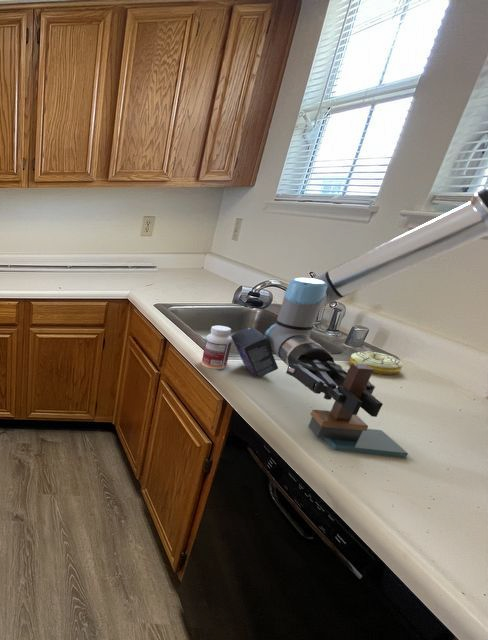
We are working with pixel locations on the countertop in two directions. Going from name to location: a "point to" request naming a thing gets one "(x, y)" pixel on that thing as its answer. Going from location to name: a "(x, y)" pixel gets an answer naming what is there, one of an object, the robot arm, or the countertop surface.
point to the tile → (370, 444)
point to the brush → (343, 410)
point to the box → (254, 351)
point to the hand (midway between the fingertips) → (367, 409)
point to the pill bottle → (217, 347)
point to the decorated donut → (377, 362)
